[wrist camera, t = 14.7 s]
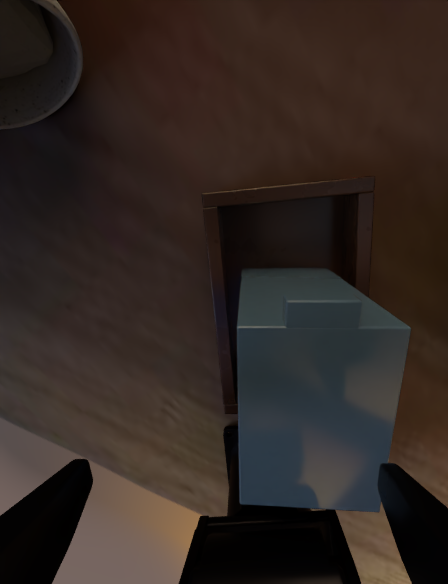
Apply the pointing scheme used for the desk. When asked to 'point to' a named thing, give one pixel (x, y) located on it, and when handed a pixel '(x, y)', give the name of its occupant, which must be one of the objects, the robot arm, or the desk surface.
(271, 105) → the desk surface
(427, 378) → the desk surface
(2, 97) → the ceramic mug
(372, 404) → the tabbed grey block
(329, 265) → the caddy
